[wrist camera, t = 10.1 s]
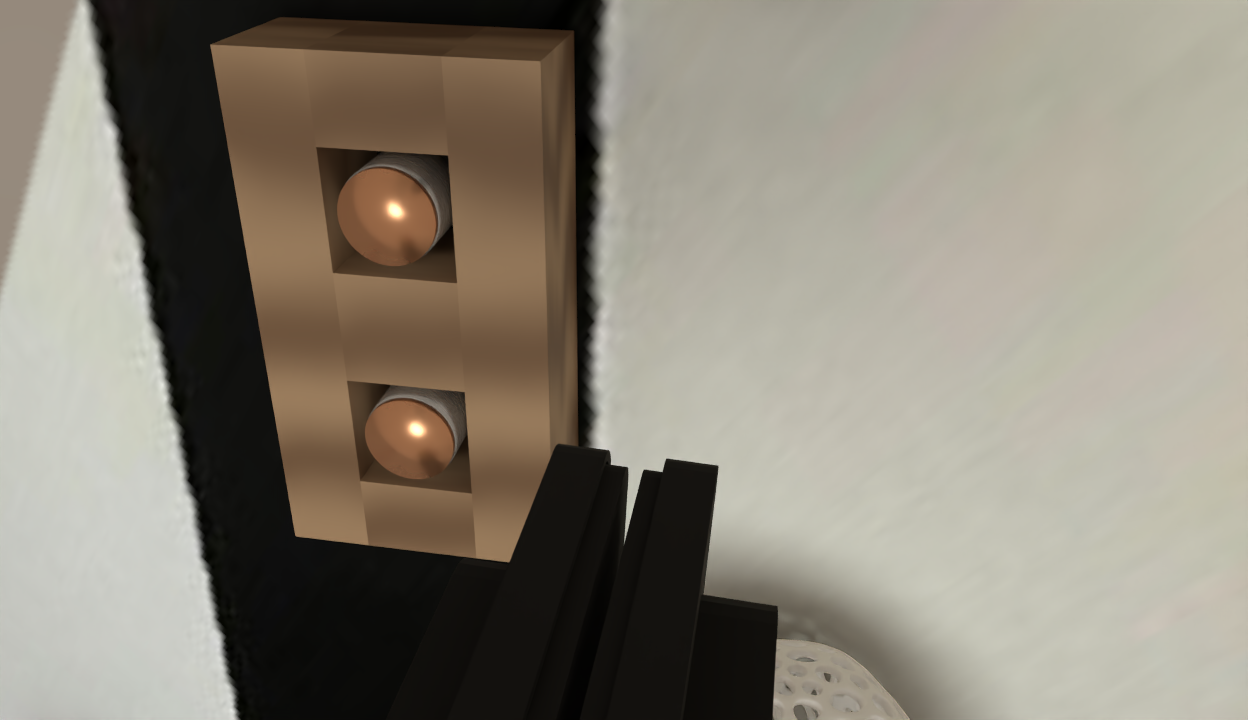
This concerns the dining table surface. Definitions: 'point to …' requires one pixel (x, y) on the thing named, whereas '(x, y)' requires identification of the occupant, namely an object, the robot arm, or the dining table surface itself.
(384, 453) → the plunger
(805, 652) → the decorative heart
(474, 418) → the socket block
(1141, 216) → the dining table surface
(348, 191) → the plunger
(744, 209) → the dining table surface
